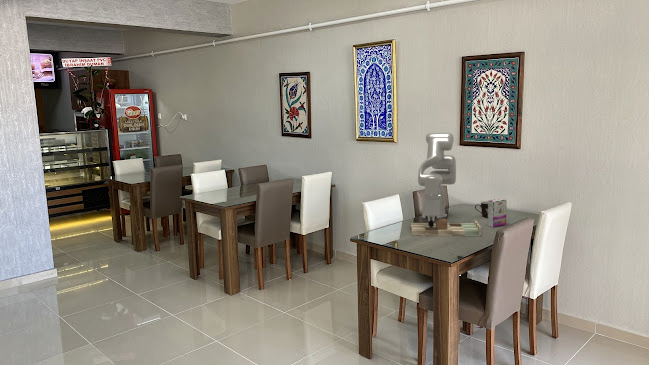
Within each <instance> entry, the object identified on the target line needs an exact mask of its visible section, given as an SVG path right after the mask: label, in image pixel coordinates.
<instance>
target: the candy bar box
mask: <svg viewBox="0 0 649 365" xmlns="http://www.w3.org/2000/svg"><path fill="white" fill-rule="evenodd" d="M487 201H488V218H487V226H488V227H491V228H497V227H503V226H507V199H506V198H497V199H491V200H487Z"/></svg>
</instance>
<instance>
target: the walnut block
mask: <svg viewBox="0 0 649 365" xmlns="http://www.w3.org/2000/svg"><path fill="white" fill-rule="evenodd" d="M435 223H436V228H437V229H447V223H448V219H447V218H436V219H435Z"/></svg>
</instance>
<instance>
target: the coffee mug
mask: <svg viewBox="0 0 649 365" xmlns="http://www.w3.org/2000/svg"><path fill="white" fill-rule="evenodd" d="M488 201H489V200H487V201H486V200H485V201H480V204H479V203H478V204H476V205H475V206H474V209H475V210H476V211H477V212H479V213H480V214H481V217H482V218H483V217H484V218H483V219H488ZM477 206H479V207H480V209H481V211H480V210H479V209H477Z"/></svg>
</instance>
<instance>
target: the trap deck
mask: <svg viewBox="0 0 649 365" xmlns="http://www.w3.org/2000/svg"><path fill="white" fill-rule="evenodd" d="M410 231H411V236H412V235H421V236H420V237H423V236H424V237H425V236H426V237H430V236H431V237H432V236H433V237H481V236H482V226H481V225H480V224H479V222H478V220H477V219H473V223H472V222H471V223H469V222H468V223H467V222H466V223H465V222H464V223H463V222H462V223H461V222H459V223H458V222H457V223H456V222H452V223H451V222H450V223H449V222H447V229H437V228H436V222H434V226H433V228H430V226H428V222H410Z"/></svg>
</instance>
